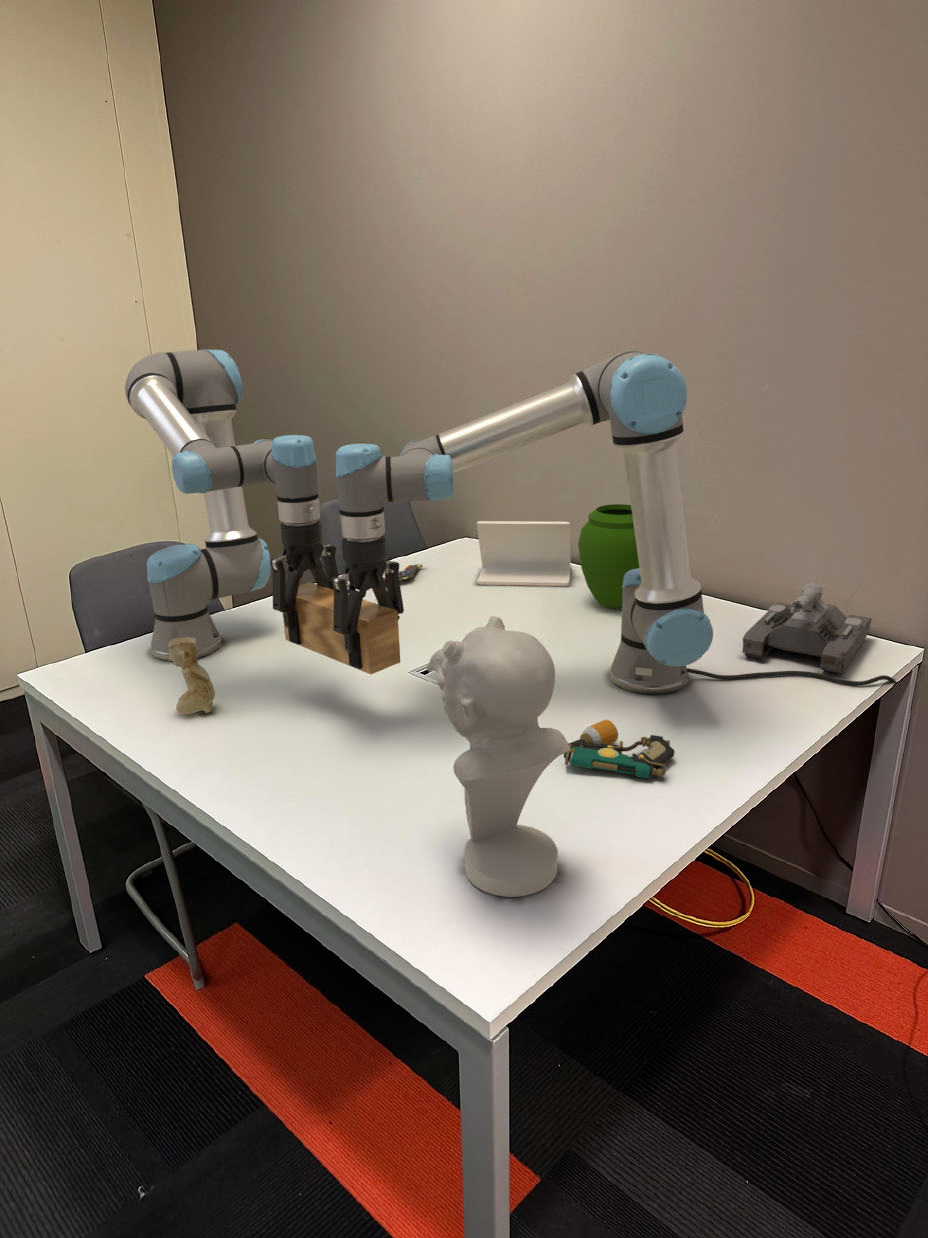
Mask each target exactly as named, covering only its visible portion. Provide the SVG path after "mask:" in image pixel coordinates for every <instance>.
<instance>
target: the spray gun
mask: <svg viewBox="0 0 928 1238" xmlns="http://www.w3.org/2000/svg"><path fill="white" fill-rule="evenodd" d="M618 738H619V731H618V728H617V727H616V724H614V723H613V722H612V721H611V720H609V719H602V720H601V721H598V722H596V723H594V724H592V725H590V726H587V727H585V729H584V730H583V731H582V733H581V734H580V736H579V739H577V740H574V741H571V742H567V743H568V745H569V747H570V750H569V751H568V752H567V753H564V754H563V758H564V765H565V766H568V765H571V766H575V767H579V768H585V769H590V770H591V769H597V770H602V771H603V770H604V771H608V772H609V771H610V772H616V773H622V774H628V775H633V776H635V777H637V778H644V779H649V778H653V776H658V777H664V776H665V774H666V770H667V768H666V764H667V763H668V762H669V761H670V760H671V759H673V758H674V756H675V749H674V748H673V747H672V746H670V744H671V740H669V739H666V740H665V739H664V737H663V736H661V735H656V734H655V735H654V734H650V736H649V737H647V736H641V737H640V740H637V741H635V742H634V743H633V744H631V745H629V746H624V741H622V740H620V741H619V745H617V744H614V743H616V742H617V740H618ZM639 746H641V747H647V748H648V750H646V751H645V752H643V751H641V752H640V755H639V756H638V754H636V753H634V752H633V753H632V755H631V756H629V755H628V754H624V753H623V752H630V751H633V750H634V749H636V748H637V747H639Z"/></svg>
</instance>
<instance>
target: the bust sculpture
mask: <svg viewBox="0 0 928 1238" xmlns="http://www.w3.org/2000/svg"><path fill="white" fill-rule="evenodd" d="M426 671H427V672H436V673H437V680H436V681H437V685H438V689H440V690H441V692H442V697H441V698H442V702H443V706H444V707H443V708H444V713H445V715H446V717H447V720H448V722H449V723H450V725H451V726H452V727H453V729H454V731H455V732H456V733H458V734H459V735H460V736H461V737H462V738H464V739H465V740H466V741H468V743H469V749H467V750H466V751H464V752H462V753H461V754H460V755H458V757H456V759H455V760H454V763H453V765H452V767H453V773H454V775H455V776H456V778H457V780H458V782H459V783H460V785H461V786H462V787H463V788H464V805H465V815H466V821H467V825H468V828H469V837H470V838H469V839H468V841H467V842H466V844H465V846H464V851H463V852H464V853H463V854H464V855H463V856H464V872H465V875H466V877H467V879H468V880H469V882H470V883H472V885H474V887H476V888H478V889H479V890H480V891H483V892H485V893H488V894H489V895H494V896H498V897H506V898H516V897H517V898H518V897H527V896H529V895H530V896H531V895H533V894H536V893H539V892H540V891H542V890H544V889H546V888H547V887H548V886H550V885H551V884H552V883H553V881H554V880H555V879H556V876H557V874H558V861H559V860H558V859H559V857H558V855H559V853H558V851H559V850H558V847H557V845H556V843H555V841H554V840H553V838H551V837H550V836H549V835H548V834H547V833H545V832H544V831H541V830H539V829H537V828H535V827H532V826H528V825H525V824H524V825H523V824H518V821H519V819H520V817H521V814H522V812H523V809H524V806H525V804H526V802H527V800H528V798H529V796H530V793H531V791H532V790H533V789H534V786H535V785H536V783H537V781H538V780H539V779H540V777H541V776H542V774H543V772H544V771H545V770H546V769H547V768H548V767H549V766H550V764H552V763H553V762H554V761H555V760H556V759H557V758H559V757H560V756H563V755H564V753H567V752H568V751H569V750H570V747H569V745H568V743H569V742H568V740H567V739H566V737H565V735H564V734H563V733H562V732H561V730H558V729H556V728H552V727H540V726H539V721H538V720H539V717H540V716H541V715H542V714H544V712H545V710H546V709H547V708H548V706H549V704H550V703H551V700H552V697H553V693H554V689H555V684H556V668H555V664H554V661H553V658H552V656H551V654H550V653H549V651H548V650H547V648H546V647H545V646H544V644H542V643H541V642H540V641H539V639H537V638H536V637H535V636H533V635H531V634H530V633H526V632H523V631H517V630H508V629H507V630H506V626H505V625H504V622H503V619H502V618H501V617H499V616H496V615H492V616H490V617H489V619H488V622H487V623H486V625H485V626H479V627H476V628H474V629H473V630H471V631H470V632H468V633H467V634H466V635H465V636H464V638H463V639H462V640H461V641H458V640H456V641H454V640H448V641H446V642H445V643H444V645H443V647H442V648H441V649H438V650H437V651H435V652H434V653H433V654H432V656H431V657H430V659H429V661H428V663H427V664H426Z"/></svg>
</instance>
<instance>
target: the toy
mask: <svg viewBox="0 0 928 1238" xmlns="http://www.w3.org/2000/svg"><path fill="white" fill-rule="evenodd" d="M823 594H824V591H823V588H822V586H821V585H820V584H819V583H816V582H808V583H806V584H805V585H804V586H802V589H801V594H800V595H799V596H798V597H794V598H793V599H792V601H791V602H790V603H785V602H780V601H779V602H776V603H775V604H773V605H771V606H770V607H769V608H768V610H767V612H765V614H764V615H763V616H762V617H761V618H759V619H758V621H756V623H754V624H753V625H752V626H751V627H750V628H749V629H748V630H747V631H746V632H745V634H744V635H743V638H742V653H744V656H745V657H751V658H756V659H761V660H764V659H765V658H766V657H767V655H769V653H770V652H772V651H773V649H777V650H781V651H786V652H787V651H788V652H793V653H797V654H801V655H802V654H803V655H808V656H812V657H817V658H820V666H819V669H821V671H825V672H830V673H834V674H839V675H842V674H843V673H844V671H845V670H846V668H847V667H848V665H849V664H850V662H851V661H852V660H853V658H854V657H855V655H856V654H857V653H858V651H859V650H860V648H861V647H862V645H863V644H864V642H865V640H866V638H867V636H868V635H869V633H870V628H871V623H872V618H871V617H867V616H861V615H857V614H856V615H855V614H849V616H848V617H847V616H846V615H845V614H844V613H843V612H842V610H840V609H839V608H838V607H837V605H834V604H828V603H825V602H824V601H823V600H822V596H823Z"/></svg>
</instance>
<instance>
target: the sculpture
mask: <svg viewBox="0 0 928 1238" xmlns="http://www.w3.org/2000/svg"><path fill="white" fill-rule="evenodd" d="M168 647H169V660H171V661H170V662H173V663H174V666H175V667H181V672H182V673H181V674H182V675H183V679H184V682H185V684H186V687H187V690H186V691H184V693H182V694H181V695H180V696H179V698H178V700H177V703H176V706H175V710H176V711H177V713H178V714H180V715H184V716H185V715H187V716H188V715H192V714H196V713H197V712H200V711H203V712H204V713H205V714H208V713H211V711H212V709H213V705H214V699H215V697H216V690H215V688H214V685H213V682H212V680H211V677H210V674H209V672H208V671H207V670H206V668H205V667H203V666H202V665H201V664H199V662H198V658H197V646H196V638H193V637H181V638H174V639H171V640H170V642H169V645H168Z"/></svg>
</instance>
